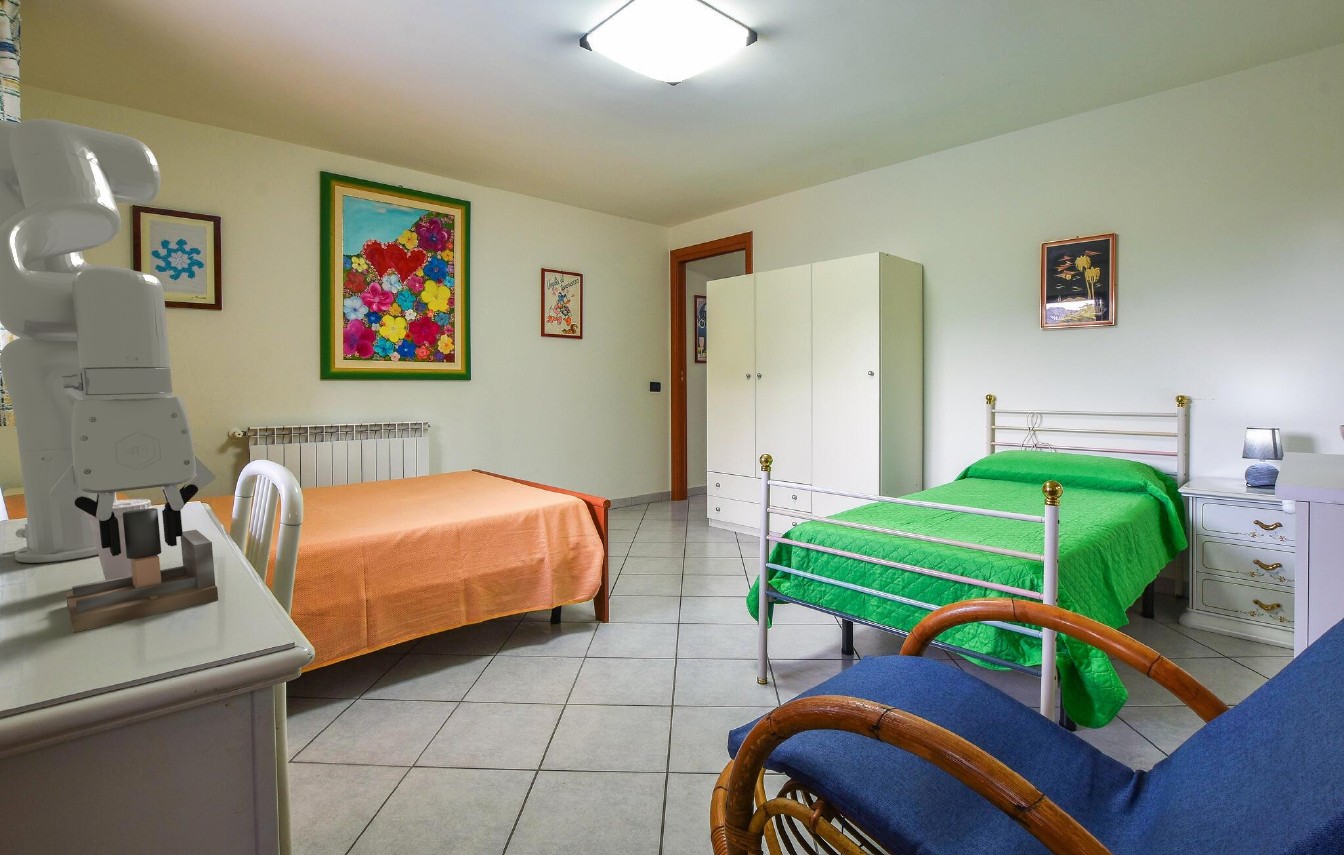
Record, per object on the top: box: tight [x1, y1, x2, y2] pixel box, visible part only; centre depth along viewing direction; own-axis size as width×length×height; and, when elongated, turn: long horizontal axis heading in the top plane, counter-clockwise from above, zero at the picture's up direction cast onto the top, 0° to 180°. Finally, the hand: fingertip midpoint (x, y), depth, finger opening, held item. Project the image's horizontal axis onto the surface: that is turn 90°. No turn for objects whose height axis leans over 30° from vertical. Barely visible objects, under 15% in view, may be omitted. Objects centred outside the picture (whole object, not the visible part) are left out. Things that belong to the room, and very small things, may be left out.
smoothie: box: [85, 492, 153, 581], centre depth 79 cm, size 6×6×14 cm
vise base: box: [65, 529, 219, 633], centre depth 71 cm, size 12×11×6 cm
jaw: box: [122, 507, 162, 588], centre depth 71 cm, size 3×5×9 cm, turn 46°
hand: (143, 546), depth 71 cm, fingers open, 4 cm apart
